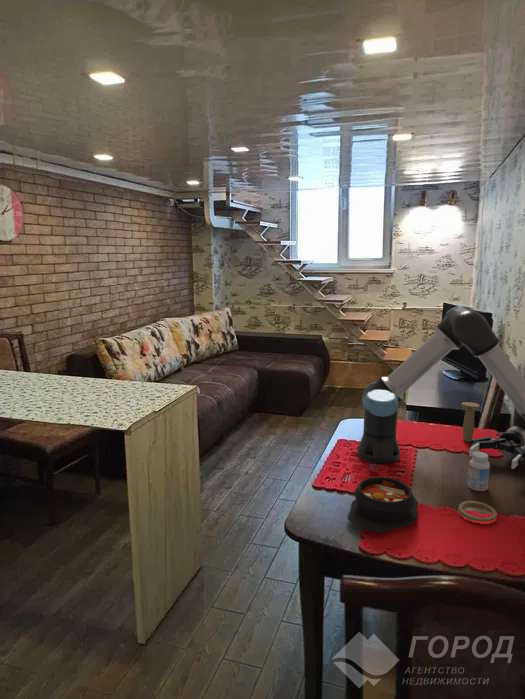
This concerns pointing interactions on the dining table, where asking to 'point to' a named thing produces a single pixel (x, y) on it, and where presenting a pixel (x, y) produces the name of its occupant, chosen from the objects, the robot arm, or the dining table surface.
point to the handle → (469, 420)
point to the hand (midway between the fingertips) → (490, 458)
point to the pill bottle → (478, 471)
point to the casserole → (382, 505)
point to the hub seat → (479, 508)
